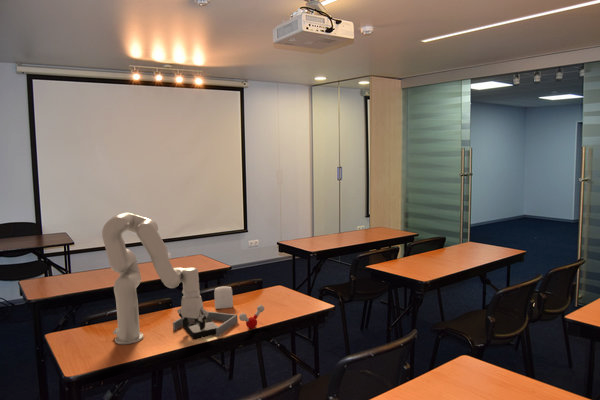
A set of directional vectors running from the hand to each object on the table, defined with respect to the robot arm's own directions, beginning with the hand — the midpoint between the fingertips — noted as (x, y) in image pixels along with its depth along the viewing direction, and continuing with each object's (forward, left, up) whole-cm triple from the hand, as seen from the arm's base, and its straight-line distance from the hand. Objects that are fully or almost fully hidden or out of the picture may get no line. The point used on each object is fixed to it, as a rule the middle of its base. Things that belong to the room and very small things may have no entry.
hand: (194, 327), depth 209 cm
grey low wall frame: (-1, +11, -3) cm, 11 cm away
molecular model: (+23, +16, -4) cm, 28 cm away
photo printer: (-7, +39, -4) cm, 39 cm away
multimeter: (0, +6, -4) cm, 7 cm away
